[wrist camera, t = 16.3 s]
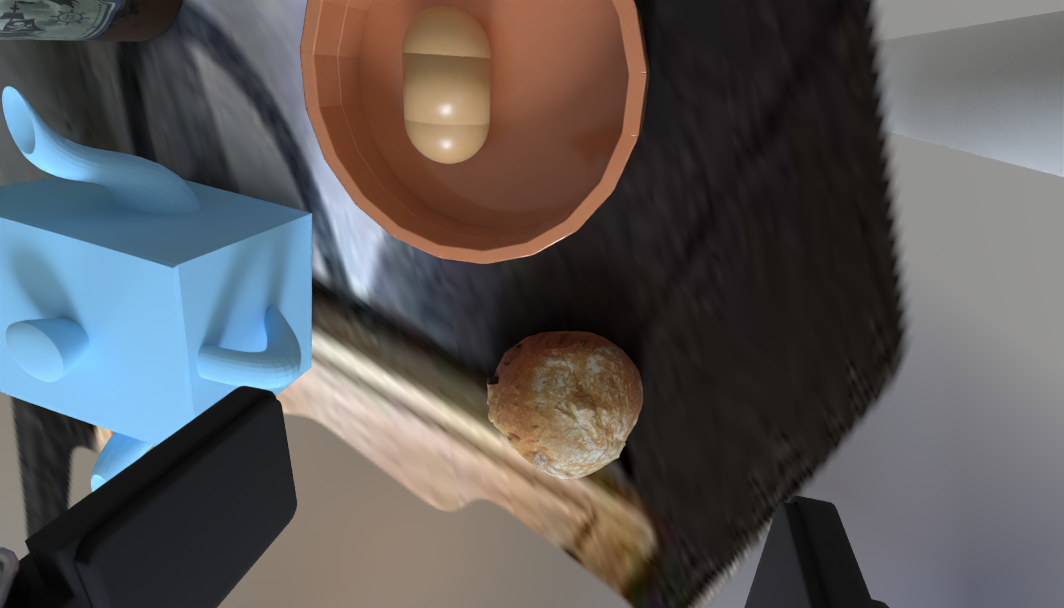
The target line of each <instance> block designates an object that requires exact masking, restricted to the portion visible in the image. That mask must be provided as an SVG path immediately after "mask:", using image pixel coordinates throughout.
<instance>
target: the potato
mask: <svg viewBox="0 0 1064 608" xmlns="http://www.w3.org/2000/svg"><path fill="white" fill-rule="evenodd" d="M402 70H403V97H404V120H405V128H406V131H407V134H408V136H409V138H410V140H411V142H412V144H413V145H414V146H415V147H416V148H417V150H418V151H419V152H421V153H422V154H423V155H424V156H426V157H427V158H429V159H431V160H433V161H436V162H440V163H445V164H453V163H458V162H462V161H465V160H467V159H469V158H471V157H472V156H473V155H474V154H476V153H477V152H478V150H479V149H480V148H481V147H482V146H483V144H484V142H485V140H486V138H487V135H488V132H489V125H490V89H491V48H490V44H489V40H488V38H487V35H486V33H485V31H484V29H483V28H482V26H481V25H480V23H479V22H478V21H477V20H476V19H475V18H474V17H473V16H472V15H470V14H469V13H467V12H466V11H464V10H462V9H459V8H457V7H454V6H447V5H438V6H434V7H430V8H428V9H426V10H424V11H422V12H421V13H419V14H418V15H417V16H416V17H415V18H414V19H413V20H412V22H411V23H410V24H409V26H408V28H407V30H406V32H405V34H404V39H403V43H402Z"/></svg>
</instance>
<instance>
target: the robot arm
mask: <svg viewBox="0 0 1064 608" xmlns="http://www.w3.org/2000/svg"><path fill="white" fill-rule="evenodd" d="M296 507H297V499H296V492H295V486H294V481H293V474H292V467H291V461H290V455H289V448H288V442H287V436H286V430H285V423H284V417H283V411H282V405H281V403H280V401H279V400H277V399H276V396H275V394H274V393H273V392H272V391H269V390H265V389H260V388H255V387H250V386H240V387H238V388H236V389H234V390H233V391H232V392H230V393H229V394H227V395H226V396H225V397H223V398H222V399H221V400H219V401H218V402H216V403H215V404H214V405H212V406H211V407H209V408H208V409H207V410H205V411H204V412H203V413H201V414H200V415H198V416H197V417H196V418H194V419H193V420H192V421H190V422H189V423H187V424H186V425H185V426H183V427H182V428H180V429H179V430H178V431H176V432H175V433H174V434H172V435H171V436H169V437H168V438H167V439H165V440H164V441H162V442H161V443H160V444H158V445H157V446H156V447H154V448H153V449H151V450H150V451H149V452H147V453H146V454H144V455H143V456H142V457H140V458H139V459H138V460H136V461H135V462H133V463H132V464H131V465H129V466H128V467H126V468H125V469H124V470H122V471H121V472H120V473H118V474H117V475H115V476H114V477H113V478H111V479H110V480H109V481H107V482H106V483H104V484H103V485H102V486H100V487H99V488H97V489H96V490H95V491H93V492H92V493H91V494H89V495H88V496H86V497H85V498H84V499H82V500H81V501H80V502H78V503H77V504H75V505H74V506H73V507H71V508H70V509H68V510H67V511H66V512H64V513H63V514H61V515H60V516H59V517H57V518H56V519H55V520H53V521H52V522H50V523H49V524H48V525H46V526H45V527H43V528H42V529H41V530H39V531H38V532H37V533H35V534H34V535H32V536H31V537H30V538H28V539H27V540H26V541H25V542H26V545H27V547H28V549H29V551H30V553H29V554H28V555H26V556H25V557H24V558H22V559H21V560H20V561H19V560H18V558H17V557H16V555H15V553H14V552H13V551H11V550H8V549H6V548H4V547H0V608H217V607H218V606H219V605H220V603H221V602H222V601H223V600H224V599H225V598H226V596H227V595H228V594H229V593H230V592H231V590H232V589H233V588H234V587H235V586H236V585H237V583H238V582H239V581H240V580H241V579H242V578H243V576H244V575H245V574H246V573H247V572H248V570H249V569H250V568H251V567H252V566H253V565H254V563H255V562H256V561H257V560H258V559H259V558H260V556H261V555H262V554H263V553H264V552H265V550H266V549H267V548H268V547H269V546H270V544H271V543H272V542H273V541H274V540H275V539H276V538H277V536H278V535H279V534H280V533H281V532H282V530H283V529H284V528H285V527H286V526H287V525H288V523H289V522H290V521H291V519H292V518H293V516H294V514H295V511H296ZM745 608H889V607H888V606H887V605H886V604H885V603H884V602H881V601H877V600H872V599H871V597H870V594H869V592H868V589H867V587H866V584H865V581H864V579H863V576H862V574H861V571H860V568H859V566H858V563H857V561H856V558H855V556H854V553H853V550H852V548H851V545H850V542H849V540H848V537H847V535H846V532H845V530H844V527H843V525H842V522H841V519H840V517H839V514H838V511H837V509H836V507H835V505H834V504H832V503H830V502H825V501H821V500H816V499H811V498H806V497H801V496H793V497H792V498H791V500H790V503H785V502H780V503H779V504H778V506H777V509H776V512H775V515H774V518H773V521H772V524H771V527H770V530H769V533H768V537H767V540H766V543H765V546H764V549H763V552H762V556H761V558H760V562H759V564H758V568H757V571H756V574H755V577H754V580H753V583H752V586H751V589H750V592H749V595H748V599H747V602H746V605H745Z"/></svg>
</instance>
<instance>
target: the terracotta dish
mask: <svg viewBox="0 0 1064 608" xmlns="http://www.w3.org/2000/svg"><path fill="white" fill-rule="evenodd" d="M438 5H447V6H454V7H457V8H459V9H462V10H464V11H466V12H467V13H469V14H470V15H472V16H473V17H474V18H475V19H476V20H477V21H478V22H479V23H480V25H481V26H482V28H483V29H484V31H485V33H486V35H487V38H488V40H489V44H490V48H491V89H490V125H489V132H488V135H487V138H486V140H485V142H484V144H483V146H482V147H481V148H480V149H479V150H478V152H477V153H476V154H474V155H473V156H472V157H471V158H469V159H467V160H465V161H462V162H458V163H453V164H445V163H440V162H436V161H433V160H431V159H429V158H427V157H426V156H424V155H423V154H422V153H421V152H419V151H418V150H417V148H416V147H415V146H414V145H413V144H412V142H411V140H410V138H409V136H408V134H407V131H406V128H405V120H404V97H403V70H402V43H403V39H404V34H405V32H406V30H407V28H408V26H409V24H410V23H411V22H412V20H413V19H414V18H415V17H416V16H417V15H418V14H419V13H421V12H422V11H424V10H426V9H428V8H430V7H434V6H438ZM300 58H301V67H302V76H303V85H304V95H305V104H306V111H307V113H308V116H309V119H310V121H311V124H312V127H313V129H314V132H315V135H316V138H317V140H318V143H319V146H320V148H321V151H322V154H323V156H324V159H325V160H326V162H327V164H328V165H329V167H330V168H331V170H332V171H333V172H334V174H335V175H336V177H337V178H338V180H339V181H340V183H341V184H342V186H343V187H344V188H345V190H346V191H347V193H348V194H349V196H350V197H351V199H352V200H353V201H354V203H355V204H356V205H357V206H358V207H359V208H360V209H361V210H362V211H364V212H365V213H366V214H367V215H368V216H369V217H371V218H372V219H373V220H374V221H375V222H376V223H378V224H379V225H380V226H381V227H382V228H383V229H385V230H386V231H387V232H388V233H389V234H390V235H392V236H393V237H395V238H397V239H399V240H401V241H404V242H406V243H408V244H410V245H412V246H414V247H416V248H419V249H421V250H423V251H425V252H427V253H429V254H432V255H434V256H436V257H439V258H445V259H452V260H459V261H467V262H474V263H481V264H485V263H486V264H488V263H494V262H499V261H505V260H510V259H516V258H521V257H527V256H531V255H534V254H536V253H538V252H540V251H542V250H543V249H545V248H547V247H549V246H551V245H552V244H554V243H556V242H558V241H560V240H561V239H563V238H565V237H567V236H569V235H570V234H572V233H574V232H576V231H577V230H578V229H579V228H580V227H581V226H582V225H583V224H584V223H585V222H586V220H587V219H588V218H589V217H590V216H591V215H592V214H593V213H594V212H595V211H596V210H597V208H598V207H599V206H600V205H601V204H602V203H603V202H604V201H605V200H606V199H607V198H608V196H609V195H610V194H611V193H612V192H613V190H614V189H615V187H616V185H617V183H618V181H619V179H620V176H621V174H622V172H623V170H624V168H625V166H626V164H627V161H628V159H629V157H630V155H631V153H632V151H633V148H634V146H635V144H636V142H637V140H638V138H639V135H640V133H641V131H642V128H643V122H644V115H645V107H646V102H647V93H648V85H649V78H650V69H649V63H648V57H647V51H646V44H645V38H644V32H643V26H642V20H641V16H640V13H639V11H638V8H637V6H636V4H635V2H634V0H308V1H307V7H306V14H305V20H304V26H303V33H302V39H301V46H300Z"/></svg>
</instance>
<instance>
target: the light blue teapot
mask: <svg viewBox="0 0 1064 608" xmlns="http://www.w3.org/2000/svg"><path fill="white" fill-rule="evenodd" d="M2 102H3V110H4V114H5V119H6V122H7V125H8V128H9V130H10V133H11V135H12V137H13V139H14V141H15V143H16V145H17V146H18V148H19V149H20V151H21V152H22V153H23V155H24V156H25V157H26V158H27V159H28V160H29V161H31V162H32V163H33V164H34V165H36V166H37V167H39V168H40V169H41V170H44V171H46V172H48V173H50V174H53V175H55V176H57V177H54V178H48V179H42V180H36V181H30V182H24V183H17V184H11V185H5V186H0V392H2V393H5V394H8V395H10V396H13V397H16V398H19V399H22V400H24V401H27V402H30V403H33V404H36V405H39V406H42V407H45V408H47V409H50V410H53V411H56V412H59V413H62V414H65V415H68V416H70V417H73V418H76V419H79V420H82V421H85V422H88V423H91V424H94V425H97V426H100V427H102V428H105V429H108V430H111V431H114V434H113V435H112V437H111V438H110V439H109V441H108V442H107V444H106V445H105V447H104V448H103V450H102V452H101V454H100V455H99V457H98V459H97V461H96V463H95V466H94V468H93V471H92V475H91V488H92V492H93V491H95V490H96V489H97V488H99V487H100V486H102V485H103V484H104V483H106V482H107V481H109V480H110V479H111V478H113V477H114V476H115V475H117V474H118V473H120V472H121V471H122V470H124V469H125V468H126V467H128V466H129V465H131V464H132V463H133V462H135V461H136V460H138V459H139V458H140V457H141V456H142V455H143V454H144V453H145V452H147V451H148V450H149V449H150V448H151V447H152V446H153V445H156V446H157V445H158V444H160V443H161V442H162V441H164V440H165V439H167V438H168V437H169V436H171V435H172V434H174V433H175V432H176V431H178V430H179V429H180V428H182V427H183V426H185V425H186V424H187V423H189V422H190V421H192V420H193V419H194V418H196V417H197V416H198V415H200V414H201V413H203V412H204V411H205V410H207V409H208V408H209V407H211V406H212V405H214V404H215V403H216V402H218V401H219V400H221V399H222V398H223V397H225V396H226V395H227V394H229V393H230V392H232V391H233V390H234V389H236V388H238V387H240V386H250V387H255V388H260V389H265V390H269V391H272V392H273V393H274V394H275V396H276V395H277V394H279V393H280V392H281V391H282V390H283V389H285V388H286V387H287V386H288V385H290V384H291V383H292V382H293V381H295V380H296V379H297V378H298V377H299V376H301V375H302V374H303V373H304V372H306V371H307V370H308V369H309V368H311V347H312V213H308V212H305V211H301V210H297V209H294V208H290V207H286V206H282V205H278V204H275V203H271V202H267V201H263V200H259V199H256V198H252V197H248V196H244V195H240V194H237V193H233V192H229V191H225V190H221V189H218V188H214V187H210V186H206V185H202V184H198V183H195V182H191V181H187V180H183V179H181V177H180V176H178V175H177V174H175V173H173V172H172V171H170V170H169V169H167V168H166V167H164V166H162V165H160V164H158V163H155V162H152V161H150V160H147V159H144V158H141V157H138V156H134V155H129V154H125V153H119V152H113V151H107V150H101V149H96V148H91V147H87V146H83V145H80V144H76V143H74V142H72V141H70V140H67V139H65V138H63V137H61V136H60V135H59V134H57V133H56V132H55V131H53V130H52V129H51V128H49V127H48V126H47V125H46V124H45V123H44V121H43V120H42V119H41V118H40V117H39V115H38V114H37V113H36V112H35V111H34V109H33V108H32V107H31V105H30V104H29V103H28V101H27V100H26V99H25V98H24V96H23V95H22V94H21V93H20V92H19V91H18V90H17V89H15V88H13V87H10V86H9V87H6V88H5V89H4V90H3V95H2Z"/></svg>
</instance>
